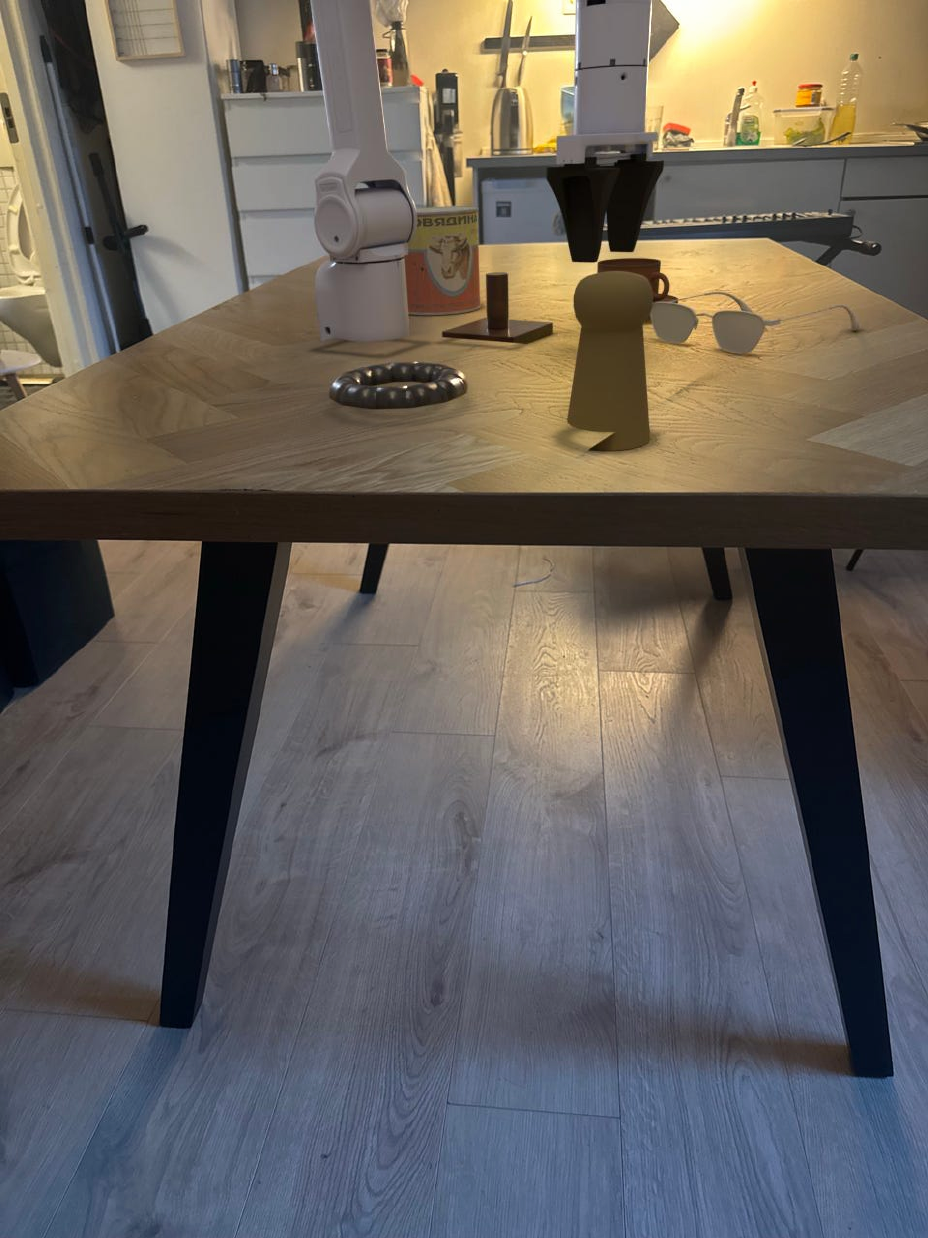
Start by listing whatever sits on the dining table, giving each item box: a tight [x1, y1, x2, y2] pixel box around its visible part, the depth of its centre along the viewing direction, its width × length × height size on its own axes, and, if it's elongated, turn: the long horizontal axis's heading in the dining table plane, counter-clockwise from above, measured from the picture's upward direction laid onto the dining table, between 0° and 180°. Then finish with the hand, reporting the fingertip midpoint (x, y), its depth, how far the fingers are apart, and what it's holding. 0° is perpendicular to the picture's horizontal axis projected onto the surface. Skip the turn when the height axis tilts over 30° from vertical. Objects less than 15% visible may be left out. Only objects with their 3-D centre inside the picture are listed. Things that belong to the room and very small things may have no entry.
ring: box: [328, 361, 469, 410], centre depth 70 cm, size 11×11×3 cm
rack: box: [441, 271, 554, 345], centre depth 93 cm, size 9×9×7 cm
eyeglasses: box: [649, 291, 861, 355], centre depth 90 cm, size 15×18×4 cm
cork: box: [566, 271, 653, 452], centre depth 58 cm, size 6×6×11 cm
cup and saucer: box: [596, 257, 679, 319], centre depth 102 cm, size 12×12×6 cm
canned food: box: [403, 205, 482, 317], centre depth 111 cm, size 11×11×12 cm
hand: (604, 256), depth 73 cm, fingers open, 7 cm apart
